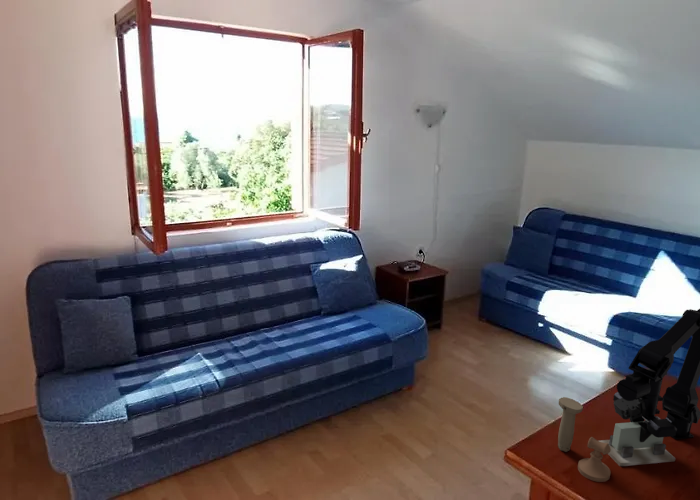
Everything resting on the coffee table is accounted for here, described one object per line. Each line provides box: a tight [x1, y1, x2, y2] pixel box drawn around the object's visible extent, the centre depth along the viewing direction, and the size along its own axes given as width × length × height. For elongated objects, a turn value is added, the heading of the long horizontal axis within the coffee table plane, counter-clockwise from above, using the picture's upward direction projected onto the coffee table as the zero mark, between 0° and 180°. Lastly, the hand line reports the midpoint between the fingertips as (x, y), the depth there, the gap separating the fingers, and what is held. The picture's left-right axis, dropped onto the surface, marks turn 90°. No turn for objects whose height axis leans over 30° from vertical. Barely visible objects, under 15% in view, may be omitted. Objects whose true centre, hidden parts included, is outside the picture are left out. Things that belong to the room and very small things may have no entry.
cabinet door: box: [612, 420, 665, 450], centre depth 148 cm, size 14×2×7 cm, turn 99°
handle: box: [557, 396, 584, 453], centre depth 148 cm, size 5×6×15 cm
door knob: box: [577, 436, 612, 483], centre depth 140 cm, size 8×10×8 cm
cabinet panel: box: [599, 434, 676, 467], centre depth 149 cm, size 17×10×4 cm, turn 99°
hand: (638, 438), depth 148 cm, fingers closed on cabinet door, 2 cm apart
